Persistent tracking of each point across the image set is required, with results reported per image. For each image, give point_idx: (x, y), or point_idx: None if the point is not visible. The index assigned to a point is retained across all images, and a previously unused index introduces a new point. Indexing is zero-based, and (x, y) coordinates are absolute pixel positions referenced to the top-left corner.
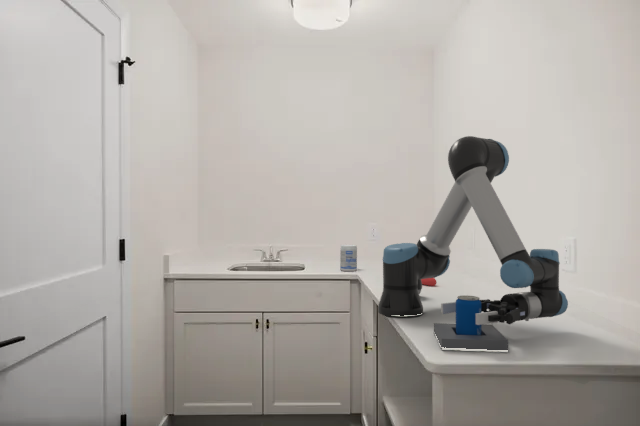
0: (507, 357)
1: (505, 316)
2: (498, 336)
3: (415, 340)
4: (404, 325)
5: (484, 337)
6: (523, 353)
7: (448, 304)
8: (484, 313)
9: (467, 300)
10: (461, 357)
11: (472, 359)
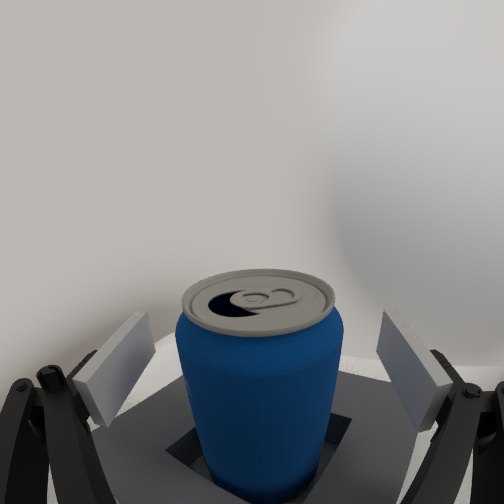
0: None
1: (42, 391)
2: (120, 469)
3: (348, 359)
4: (498, 372)
5: (154, 424)
6: (52, 490)
7: (395, 332)
8: (118, 330)
9: (218, 282)
10: (169, 368)
11: (142, 374)
